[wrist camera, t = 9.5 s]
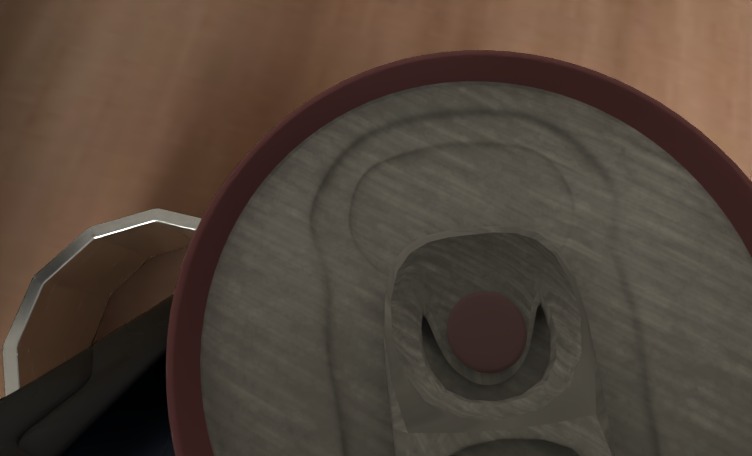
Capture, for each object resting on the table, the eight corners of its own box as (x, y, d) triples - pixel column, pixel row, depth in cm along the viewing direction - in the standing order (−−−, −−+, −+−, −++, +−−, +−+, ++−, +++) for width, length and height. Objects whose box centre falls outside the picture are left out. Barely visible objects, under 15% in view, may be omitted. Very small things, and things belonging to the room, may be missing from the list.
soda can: (313, 255, 16) (115, 33, 5) (497, 236, 16) (762, -37, 5) (325, 457, 14) (49, 925, 3) (532, 437, 14) (1122, 832, 3)
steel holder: (348, 339, 21) (336, 339, 17) (176, 522, 20) (115, 574, 15) (203, 194, 24) (161, 162, 19) (38, 347, 22) (-50, 349, 18)
